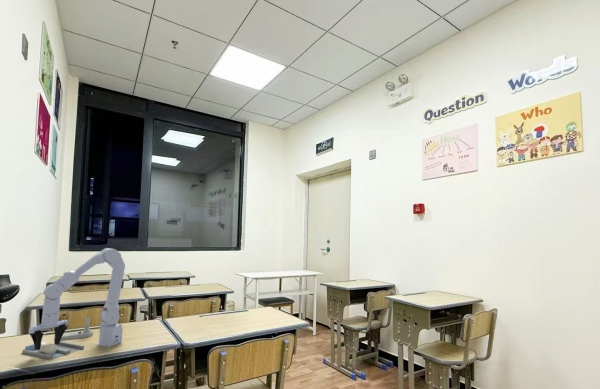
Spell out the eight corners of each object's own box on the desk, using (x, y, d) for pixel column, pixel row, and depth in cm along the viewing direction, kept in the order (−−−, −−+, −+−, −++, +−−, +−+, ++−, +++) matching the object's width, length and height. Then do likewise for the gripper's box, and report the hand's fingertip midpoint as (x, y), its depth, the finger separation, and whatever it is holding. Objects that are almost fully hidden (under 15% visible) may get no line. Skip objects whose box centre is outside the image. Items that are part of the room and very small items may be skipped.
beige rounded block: (56, 353, 139) (58, 343, 140) (46, 356, 135) (48, 345, 136) (45, 351, 142) (47, 341, 142) (35, 353, 138) (37, 343, 139)
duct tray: (83, 349, 145) (84, 342, 146) (50, 360, 132) (51, 353, 133) (56, 344, 152) (57, 337, 152) (21, 354, 139) (22, 347, 139)
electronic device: (57, 319, 161) (94, 315, 168) (56, 340, 160) (93, 334, 167) (56, 321, 156) (93, 317, 164) (55, 343, 155) (92, 337, 163)
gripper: (61, 309, 149) (58, 340, 147) (25, 316, 135) (21, 350, 134) (72, 310, 146) (69, 342, 145) (36, 317, 133) (32, 353, 131)
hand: (47, 346), depth 139 cm, fingers open, 7 cm apart
